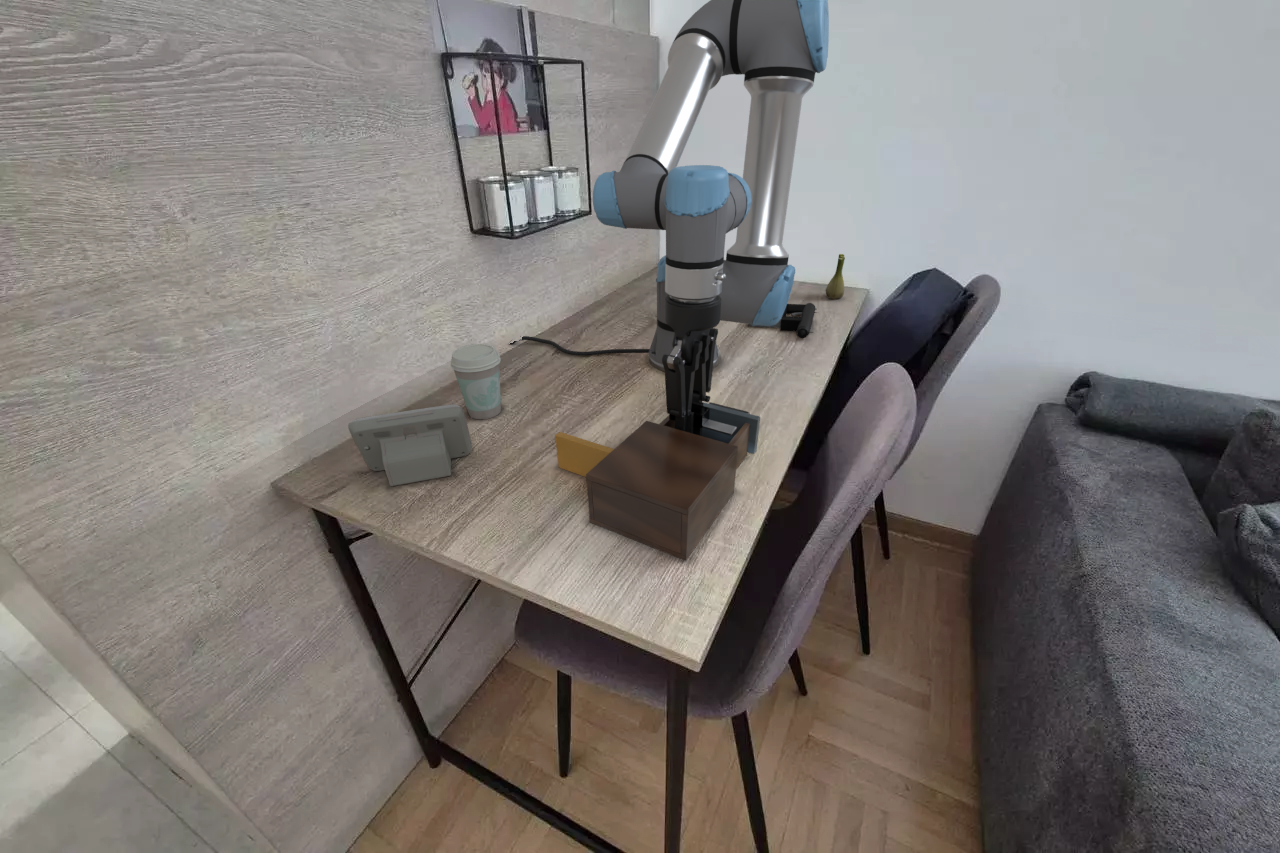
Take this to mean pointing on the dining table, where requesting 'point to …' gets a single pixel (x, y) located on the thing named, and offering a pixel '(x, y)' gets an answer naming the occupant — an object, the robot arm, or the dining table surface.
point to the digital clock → (413, 442)
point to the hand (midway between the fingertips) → (688, 443)
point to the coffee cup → (478, 379)
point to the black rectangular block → (707, 420)
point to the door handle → (796, 319)
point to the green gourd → (836, 281)
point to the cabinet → (662, 487)
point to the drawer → (741, 419)
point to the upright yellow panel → (579, 453)
